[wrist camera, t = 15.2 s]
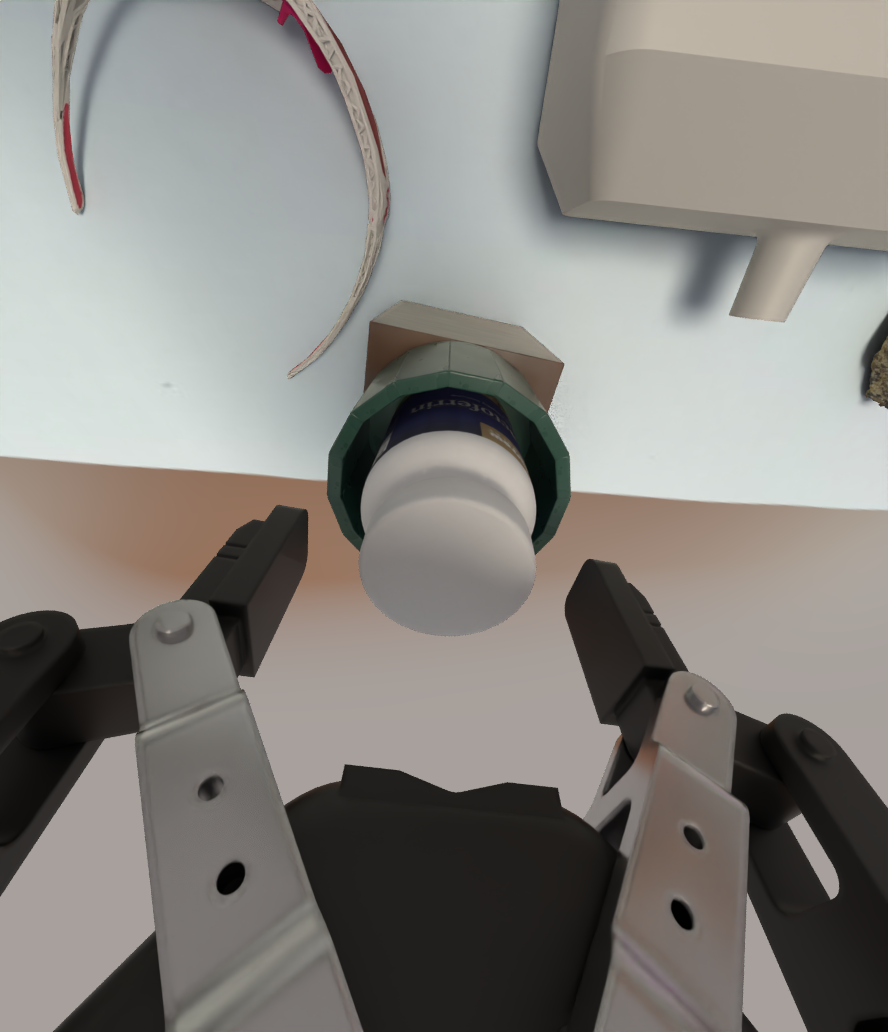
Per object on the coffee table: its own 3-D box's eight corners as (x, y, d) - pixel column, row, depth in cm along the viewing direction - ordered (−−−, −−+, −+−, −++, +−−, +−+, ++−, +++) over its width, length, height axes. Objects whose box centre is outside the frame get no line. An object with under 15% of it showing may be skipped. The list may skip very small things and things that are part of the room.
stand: (386, 420, 31) (354, 495, 21) (401, 299, 26) (369, 320, 16) (491, 441, 32) (509, 523, 22) (523, 327, 27) (565, 363, 17)
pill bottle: (529, 395, 17) (600, 515, 9) (487, 501, 20) (512, 666, 12) (403, 359, 17) (353, 453, 8) (379, 474, 20) (325, 630, 11)
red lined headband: (457, 162, 22) (446, 157, 19) (319, 374, 32) (292, 400, 28) (155, -200, 16) (46, -315, 13) (95, 194, 26) (22, 196, 22)
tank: (510, 289, 26) (550, 304, 15) (575, -130, 17) (771, -754, 7) (873, 326, 27) (1149, 365, 16) (1110, -57, 18) (2043, -514, 7)
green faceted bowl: (354, 495, 21) (323, 568, 16) (369, 320, 16) (332, 345, 11) (509, 523, 22) (526, 600, 17) (565, 363, 17) (612, 404, 12)
